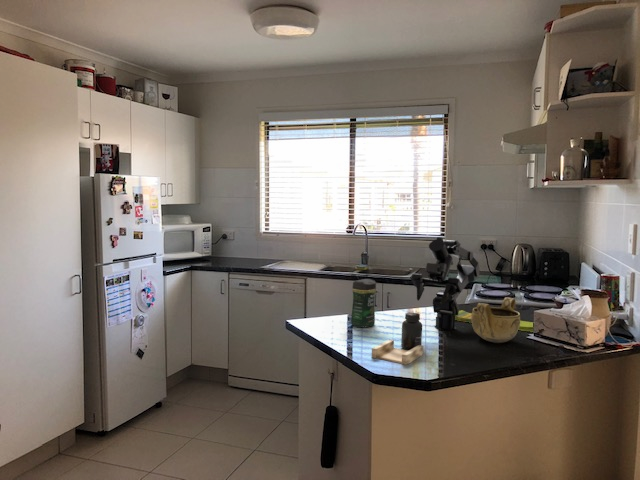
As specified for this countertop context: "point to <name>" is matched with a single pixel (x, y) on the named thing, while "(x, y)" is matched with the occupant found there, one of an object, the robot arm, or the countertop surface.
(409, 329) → the supplement bottle
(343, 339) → the countertop surface
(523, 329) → the dish towel
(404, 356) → the cradle
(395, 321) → the countertop surface
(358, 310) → the coffee jar
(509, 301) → the ceramic bowl
